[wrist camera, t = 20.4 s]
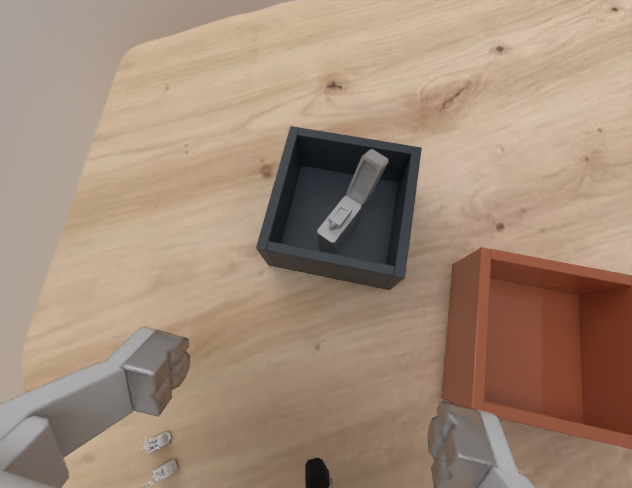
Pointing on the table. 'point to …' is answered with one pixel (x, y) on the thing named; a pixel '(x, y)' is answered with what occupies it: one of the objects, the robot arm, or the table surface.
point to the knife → (317, 474)
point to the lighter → (351, 202)
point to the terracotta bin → (541, 344)
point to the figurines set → (166, 468)
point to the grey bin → (325, 194)
